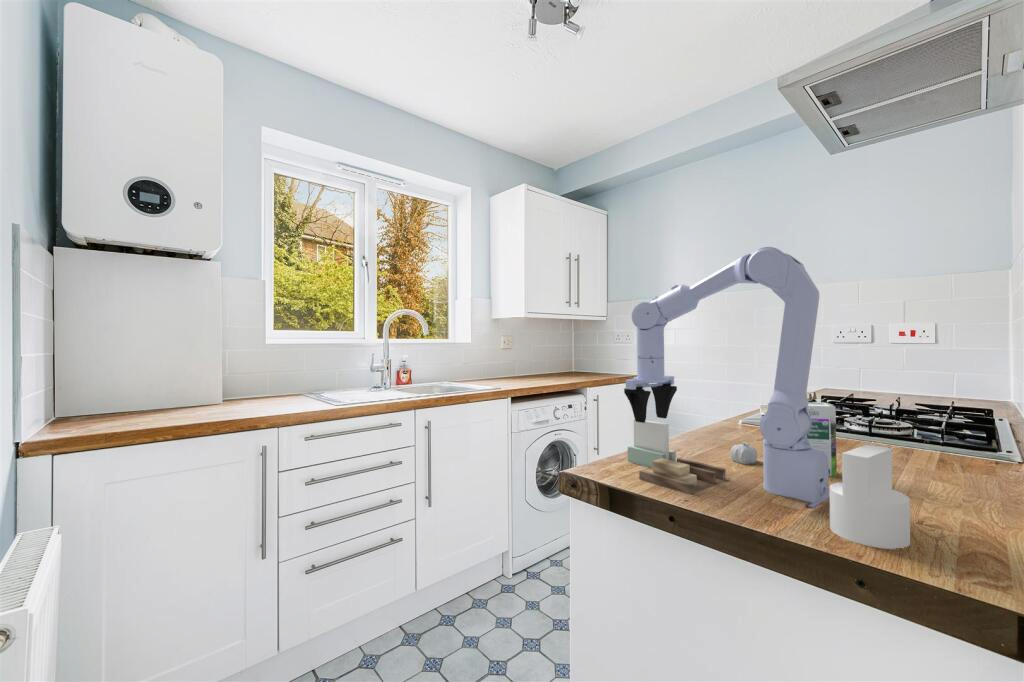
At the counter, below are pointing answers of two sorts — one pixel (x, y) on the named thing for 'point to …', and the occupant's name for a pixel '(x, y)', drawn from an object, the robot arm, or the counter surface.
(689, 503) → the counter surface
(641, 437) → the white square panel
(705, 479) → the rack
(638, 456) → the stand
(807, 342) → the robot arm
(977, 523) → the counter surface
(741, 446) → the garlic
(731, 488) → the counter surface
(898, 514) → the cylinder with rectangular tab
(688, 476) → the offcut stack
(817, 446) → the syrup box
